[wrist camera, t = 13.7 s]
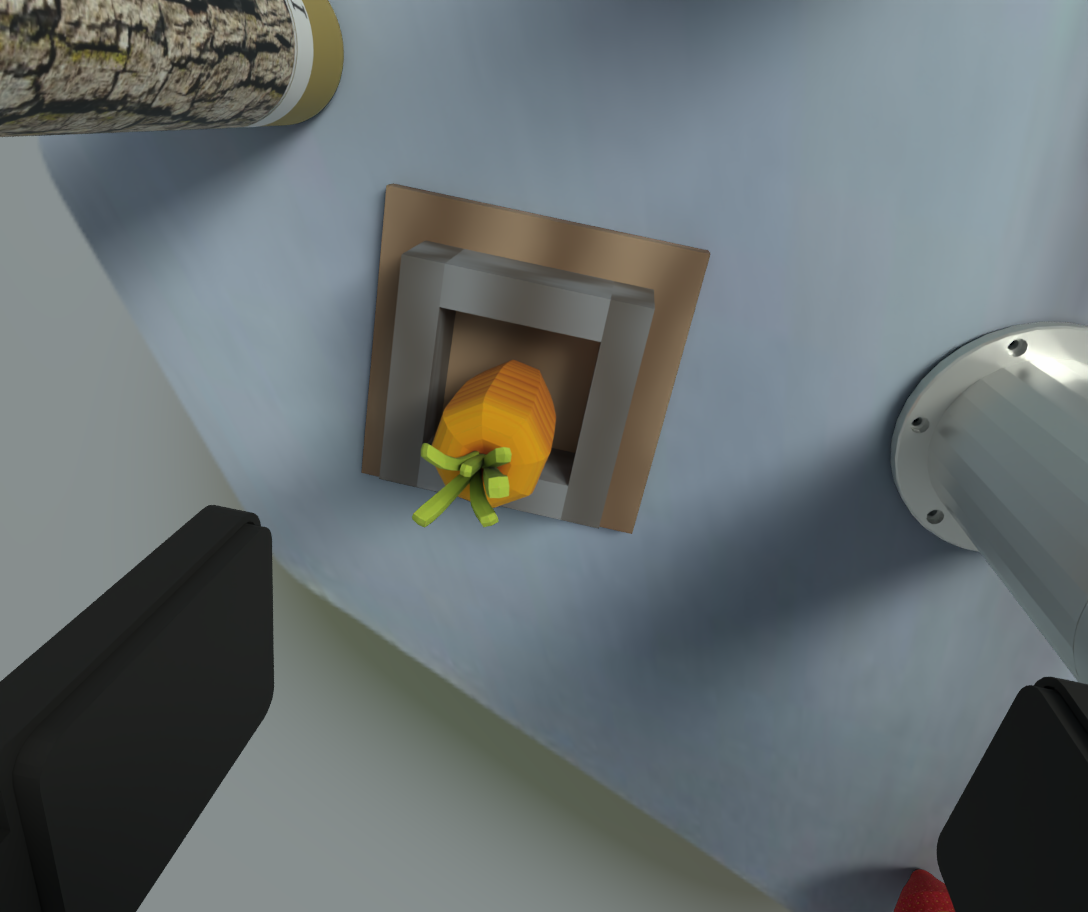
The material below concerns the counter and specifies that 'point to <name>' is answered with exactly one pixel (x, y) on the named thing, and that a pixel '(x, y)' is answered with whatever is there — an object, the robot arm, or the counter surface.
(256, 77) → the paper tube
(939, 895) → the strawberry
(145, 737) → the robot arm
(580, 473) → the docking stand
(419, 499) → the counter surface
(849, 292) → the counter surface
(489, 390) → the carrot
